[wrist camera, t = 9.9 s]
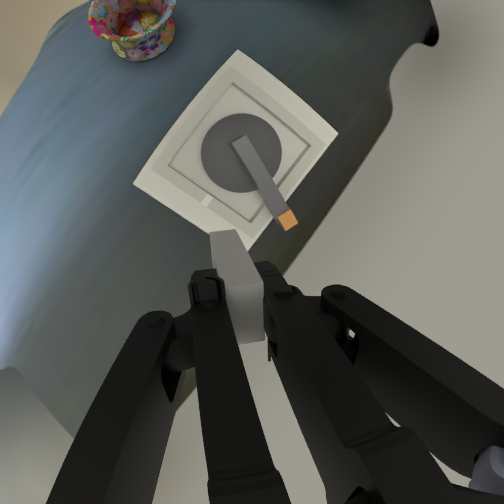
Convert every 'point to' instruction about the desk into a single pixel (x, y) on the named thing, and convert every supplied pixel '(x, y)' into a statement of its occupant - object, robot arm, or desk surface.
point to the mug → (134, 26)
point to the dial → (246, 161)
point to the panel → (197, 125)
